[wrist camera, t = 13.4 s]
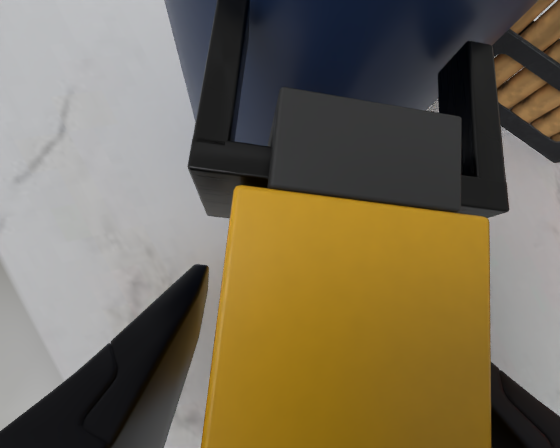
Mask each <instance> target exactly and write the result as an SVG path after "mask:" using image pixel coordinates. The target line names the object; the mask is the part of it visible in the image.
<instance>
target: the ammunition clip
mask: <svg viewBox="0 0 560 448" xmlns="http://www.w3.org/2000/svg"><path fill="white" fill-rule="evenodd" d="M553 1H554V0H538V1H537V2H536V3H535V4H534V5H533V6H532V7H531V8H530V9H529V10H528V11H527V12H526V13H525V14H524V15H523V16H522V17H521V18H520V19H519V20H518V21H517V22H516V23H515V24H514V25H513V26H512V27H511V28H510V29H509V30H508V31H507V32H506V33H505V34H504V35H502V36H501V37H500V38H499V39H498V40H497V41H496V42H495V43H494V44H493V45H492V47H493V53H494V56H496V55H497V56H496V57H495V58H494V63H495V74H496V84H497V95H498V105H499V115H500V125H502V126H503V127H504V128H506V129H507V130H509V131H510V132H511V133H513V134H514V135H516V136H517V137H519V138H520V139H521V140H523V141H524V142H526V143H527V144H528V145H530V146H531V147H533V148H534V149H536V150H537V151H538V152H540V153H541V154H543V155H544V156H545V157H547V158H548V159H550V160H551V161H553V162H560V39H559V38H560V0H558V1H557V2H556V3H555V4H554V5H552V6H551V7H550V8H549V9H548V10H547V11H546V12H545V13H544V14H543V15H541V16H540V17H539V18H538V19H537V20H536V21H535V22H534V21H533V20H534V19H535V18H536V17H537V16H538V15H539V14H540V13H541V12H542V11H544V10H545V9H546V8H547V7H548V6H549V5H550V4H551V3H552V2H553ZM523 67H524V68H523ZM522 68H523V69H522ZM520 69H522V70H520ZM519 70H520V71H519ZM518 71H519V72H518ZM517 72H518V73H517ZM515 73H516V74H515ZM514 74H515V75H514ZM513 75H514V76H513ZM512 76H513V77H512ZM510 77H511V78H510ZM509 78H510V79H509ZM508 79H509V80H508ZM507 80H508V81H507ZM505 81H506V82H505ZM504 82H505V83H504Z"/></svg>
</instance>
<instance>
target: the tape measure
mask: <svg viewBox="0 0 560 448" xmlns="http://www.w3.org/2000/svg"><path fill="white" fill-rule="evenodd" d="M268 146H269V147H272V151H271V160H270V169H269V178H268V187H267V188H261V187H254V186H246V185H239V186H236V187H235V189H234V190H233V198H232V206H231V213H230V221H229V229H228V237H227V245H226V253H225V261H224V269H223V277H222V285H221V293H220V300H219V308H218V316H217V324H216V332H215V340H214V348H213V356H212V364H211V372H210V380H209V387H208V395H207V403H206V411H205V419H204V427H203V435H202V443H201V448H491V354H490V241H489V220H488V218H486V217H483V216H477V215H469V214H461V213H455V212H459V211H460V209H461V117H459V116H454V115H448V114H442V113H436V112H430V111H424V110H419V109H413V108H407V107H401V106H395V105H389V104H383V103H377V102H371V101H365V100H359V99H353V98H347V97H342V96H336V95H330V94H324V93H318V92H312V91H306V90H300V89H294V88H288V87H281V89H280V90H279V95H278V99H277V104H276V108H275V113H274V118H273V123H272V127H271V132H270V137H269V141H268Z"/></svg>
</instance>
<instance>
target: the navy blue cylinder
mask: <svg viewBox="0 0 560 448" xmlns="http://www.w3.org/2000/svg"><path fill="white" fill-rule="evenodd" d="M537 1H538V0H165V4H166V8H167V12H168V16H169V20H170V24H171V28H172V32H173V36H174V40H175V44H176V47H177V51H178V55H179V59H180V63H181V67H182V71H183V75H184V79H185V83H186V87H187V91H188V94H189V98H190V102H191V106H192V110H193V114H194V118H195V122H196V123H195V129H194V135H193V139H192V145H191V150H190V156H189V162H188V169H189V172H190V174H191V177H192V179H193V182H194V184H195V186H196V189H197V191H198V194H199V196H200V199H201V201H202V203H203V206H204V208H205V211H206V213H207V215H208V216H214V217H223V218H230V213H231V206H232V198H233V190H234V189H235V187H236V186H239V185H246V186H254V187H261V188H267V187H268V178H269V169H270V160H271V151H272V147H269V146H268V141H269V137H270V132H271V127H272V123H273V118H274V113H275V108H276V104H277V99H278V95H279V90H280V89H281V87H288V88H294V89H300V90H306V91H312V92H318V93H324V94H330V95H336V96H342V97H347V98H353V99H359V100H365V101H371V102H377V103H383V104H389V105H395V106H401V107H407V108H413V109H419V110H424V111H425V110H427V109H428V108H429V107H430V106H431V105H432V104H433V103H434V102H435V101H436V100H437V99H438V98H439V113H442V114H448V115H454V116H459V117H461V209H460V211H459V212H455V213H461V214H469V215H477V216H483V217H486V218H489V217H492V216H495V215H499V214H502V213H505V212H508V211H509V203H508V193H507V183H506V178H505V167H504V157H503V147H502V136H501V126H500V115H499V105H498V95H497V84H496V74H495V63H494V53H493V47H492V45H493V44H494V43H495V42H496V41H497V40H498V39H499V38H500V37H501V36H502V35H504V34H505V33H506V32H507V31H508V30H509V29H510V28H511V27H512V26H513V25H514V24H515V23H516V22H517V21H518V20H519V19H520V18H521V17H522V16H523V15H524V14H525V13H526V12H527V11H528V10H529V9H530V8H531V7H532V6H533V5H534V4H535V3H536V2H537Z"/></svg>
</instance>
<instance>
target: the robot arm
mask: <svg viewBox="0 0 560 448" xmlns="http://www.w3.org/2000/svg"><path fill="white" fill-rule="evenodd" d="M208 277H209V267H208V266H207V265H198V264H195V265H194V266H192V267H191V268H190V269H189V270H188V271H187V272H186V273H185V274H184V275H183V276H182V277H180V278H179V279H178V280H177V281H176V282H175V283H174V284H173V285H172V286H171V287H170V288H168V289H167V290H166V291H165V292H164V293H163V294H162V295H161V296H160V297H159V298H158V299H156V300H155V301H154V302H153V303H152V304H151V305H150V306H149V307H148V308H147V309H146V310H144V311H143V312H142V313H141V314H140V315H139V316H138V317H137V318H136V319H135V320H134V321H132V322H131V323H130V324H129V325H128V326H127V327H126V328H125V329H124V330H123V331H122V332H120V333H119V334H118V335H117V336H116V337H115V338H114V339H113V340H112V341H111V344H110V343H109V344H107V345H106V346H105V347H104V348H103V349H102V350H101V351H100V352H98V353H97V354H96V355H95V356H94V357H93V358H92V359H91V360H89V361H88V362H87V363H86V364H85V365H84V366H83V367H81V368H80V369H79V370H78V371H77V372H76V373H74V374H73V375H72V376H71V377H69V378H68V379H67V380H66V381H64V382H63V383H62V384H61V385H59V386H58V387H57V388H56V389H54V390H53V391H52V392H51V393H49V394H48V395H47V396H45V397H44V398H43V399H41V400H40V401H39V402H38V403H36V404H35V405H34V406H32V407H31V408H30V409H29V410H27V411H26V412H25V413H23V414H22V415H21V416H19V417H18V418H17V419H15V420H14V421H13V422H12V423H10V424H9V425H8V426H7V427H5V428H4V429H3V430H1V431H0V448H164V445H165V442H166V439H167V435H168V432H169V429H170V426H171V423H172V420H173V417H174V414H175V411H176V407H177V404H178V401H179V398H180V395H181V392H182V389H183V386H184V382H185V379H186V376H187V373H188V370H189V367H190V364H191V361H192V358H193V354H194V351H195V348H196V345H197V341H198V338H199V333H200V328H201V323H202V318H203V313H204V307H205V302H206V297H207V291H208ZM491 448H560V417H559V416H558V415H557V414H555V413H554V412H553V411H552V410H550V409H549V408H548V407H546V406H545V405H544V404H542V403H541V402H540V401H538V400H537V399H536V398H535V397H533V396H532V395H531V394H530V393H528V392H527V391H526V390H525V389H523V388H522V387H521V386H520V385H518V384H517V383H516V382H515V381H513V380H512V379H511V378H510V377H509V376H507V375H506V374H505V373H504V372H503V371H501V370H499V368H498V367H497V366H495V365H494V364H493V363H492V362H491Z"/></svg>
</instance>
